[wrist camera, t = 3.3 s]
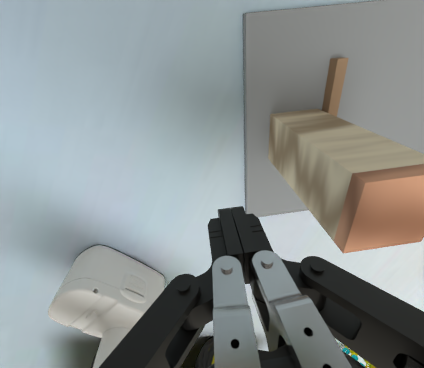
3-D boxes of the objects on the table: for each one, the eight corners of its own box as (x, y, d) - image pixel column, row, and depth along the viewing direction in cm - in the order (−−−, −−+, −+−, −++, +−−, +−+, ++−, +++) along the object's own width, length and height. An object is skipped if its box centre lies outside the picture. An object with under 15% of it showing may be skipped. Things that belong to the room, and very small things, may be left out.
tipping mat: (242, 14, 19) (249, 10, 17) (485, -9, 20) (516, -15, 18) (245, 214, 31) (249, 224, 29) (400, 192, 32) (414, 201, 30)
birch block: (270, 114, 23) (365, 182, 11) (317, 108, 23) (461, 170, 11) (268, 158, 25) (343, 253, 14) (310, 153, 26) (421, 241, 14)
